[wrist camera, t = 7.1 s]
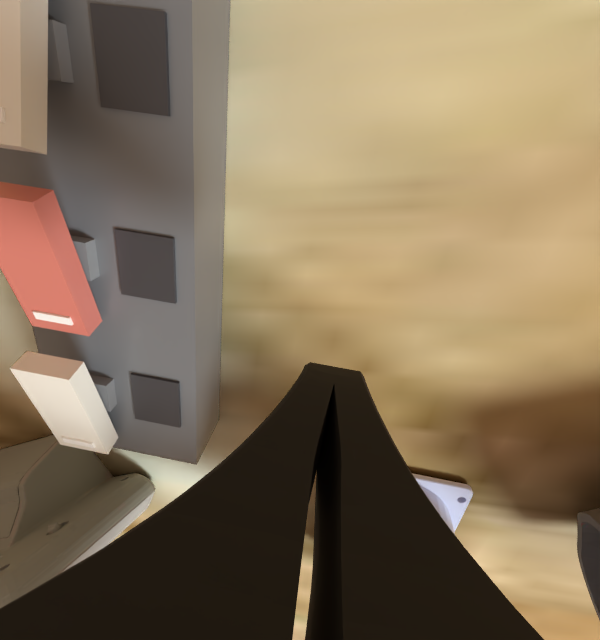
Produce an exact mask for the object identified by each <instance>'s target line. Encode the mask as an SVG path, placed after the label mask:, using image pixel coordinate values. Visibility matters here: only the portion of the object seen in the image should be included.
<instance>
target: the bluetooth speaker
mask: <svg viewBox="0 0 600 640" xmlns="http://www.w3.org/2000/svg"><path fill="white" fill-rule="evenodd" d="M577 520H578V540H577V550H578V557H579V562H580V565H581V569H582V572H583V576H584V579H585V582H586V585H587V588H588V591H589V594H590V597H591V600H592V602H593V605H594V607H595V610H596V613H597V615H598V617H599V620H600V508H597V509H593V510H588V511H583V512H579V513H578V514H577Z"/></svg>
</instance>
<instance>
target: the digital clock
mask: <svg viewBox="0 0 600 640" xmlns="http://www.w3.org/2000/svg"><path fill="white" fill-rule="evenodd" d="M154 492H155V487H154V484H153V483H152V481H151V480H150V479H148V478H147V477H145V476H143V475H140V474H138V473H132V474H127V475H122V476H117V477H113V475H112V474H111V473H110V472H109V470H108V469H107V468H106V467H105V466H104V464H103V463H102V462H101V461H100V459H99V458H98V457H97V456H96V454H95V453H94V452H93V451H89V450H84V449H79V448H75V447H70V446H65V445H60V443H59V442H58V440H57V439H56V437H55V436H54V435H51V436H48V437H44V438H40V439H37V440H33V441H30V442H26V443H22V444H19V445H15V446H12V447H8V448H4V449H1V450H0V608H2V607H3V606H5V605H7V604H8V603H10V602H12V601H14V600H15V599H17V598H19V597H21V596H22V595H24V594H26V593H28V592H29V591H31V590H33V589H34V588H36V587H38V586H40V585H41V584H43V583H45V582H46V581H48V580H50V579H52V578H53V577H55V576H57V575H58V574H60V573H62V572H64V571H65V570H67V569H69V568H70V567H72V566H74V565H76V564H77V563H79V562H81V561H82V560H84V559H86V558H88V557H89V556H91V555H93V554H94V553H96V552H97V551H99V550H101V549H102V548H104V547H105V546H107V545H108V544H109V543H110V542H111V541H112V540H113V539H115V538H116V537H117V536H118V535H119V534H120V533H121V532H122V531H123V530H124V529H125V528H127V527H128V526H129V525H130V524H131V523H132V522H133V521H134V520H135V519H136V518H137V517H139V516H140V515H141V514H142V513H143V512H144V511H145V510H146V509H147V508H148V506H149V504H150V502H151V499H152V497H153V494H154Z"/></svg>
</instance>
